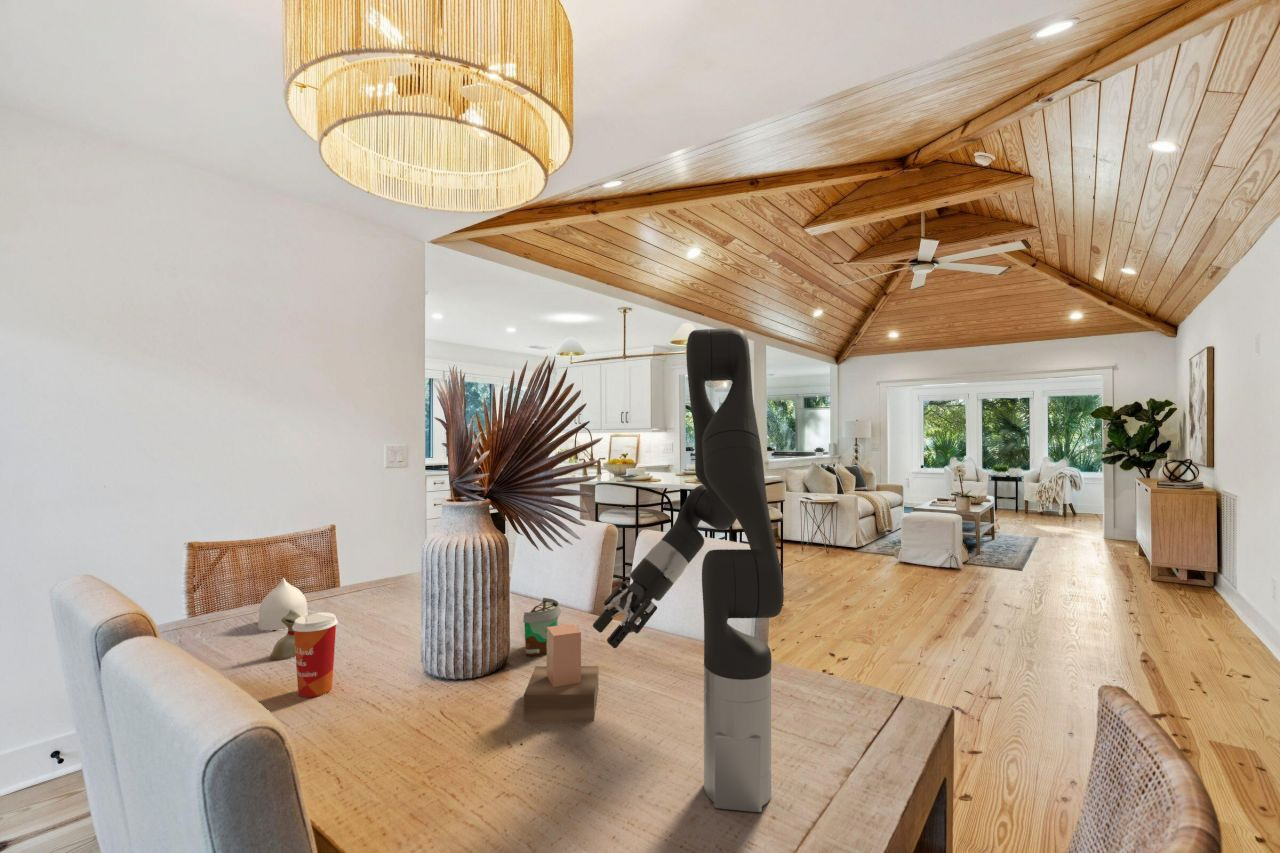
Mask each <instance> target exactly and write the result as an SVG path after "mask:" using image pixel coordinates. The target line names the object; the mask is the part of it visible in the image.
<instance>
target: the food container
mask: <svg viewBox="0 0 1280 853" xmlns="http://www.w3.org/2000/svg"><path fill="white" fill-rule="evenodd" d="M561 615H562V609H561V606H560V604H559V601H557V600H556V599H554V598H550V597H542V602H541V603H540V604H538V605H535V606H534V607H533V608H532V609H531V611H529V612H528V611H527V612H525V611H524V612H523V618H522V619H523V623H524V642H525V657H526V656H527V657H526V658H531V657H532V658H534V656H537V657H542V656H547V655H546V654H547V627H551V626H559V625H558V624H559V617H560V616H561ZM528 656H529V657H528Z"/></svg>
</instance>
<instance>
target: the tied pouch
mask: <svg viewBox="0 0 1280 853" xmlns="http://www.w3.org/2000/svg"><path fill="white" fill-rule="evenodd" d="M299 617H301V616H300V615H299V614H298V613H296V612H295V611H294V610H290V611H289V612H288V614H287V615H286V616H284V617H283V618H282V619H281V621H282V623H284V624H285V625H286V626H287V627H288V629H287V633H286V634H285V636H283V637H282V638H280V639H278V640H277V641H276V643H275V645H274V646H273V649H272V650H271V653H270V655H269V660H270V661H275V659H276V660H277V661H279V660H280V659H282V660H286V659H287V658H288V659H292V658H291V657H293V658H296V657H295V656H296V653H295V638H294V630H292V627H293V625H294V622H295V620H296V619H297V618H299ZM288 659H287V660H288Z"/></svg>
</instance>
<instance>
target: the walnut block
mask: <svg viewBox="0 0 1280 853" xmlns="http://www.w3.org/2000/svg"><path fill="white" fill-rule="evenodd" d="M597 696H599V665H581V683H575V684H569V685H563V686H557V687H553V686H552V684H551V682H550V681H549V679H548V677H547V665H546V666H544V665H543V666H542V665H541V666H540V665H539V666H536V665H535V667H534V669H533V671H532V674H531V677H530V679H529V681H528V684H527V686H526V689H525V691H524V693H523V722H524V723H526V722H529V723H530V722H532V723H533V722H534V723H535V722H537V723H538V722H540V723H542V722H544V723H545V722H548V723H549V722H550V723H551V722H553V723H554V722H595V718H596V710H597V704H598V697H597Z"/></svg>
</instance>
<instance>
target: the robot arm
mask: <svg viewBox="0 0 1280 853" xmlns="http://www.w3.org/2000/svg"><path fill="white" fill-rule="evenodd" d="M750 352H751V351H750V344H749V340H748V337H747V335H746V333H745V332H744V331H743V330H742V329H739V328H710V329H708V328H706V329H695V330H692V331H691V332H690V333H689V334H688V337H687V342H686V354H685V355H686V357H685V358H686V372H687V382H688V383H687V384H688V391H689V392H688V394H689V401H690V402H689V403H690V410H691V416H692V425H693V433H694V469H695V470H694V471H695V476H696V478H697V480H698V481H699V483H701V484H700V485H698V486H696V487H695V488H693V489H692V490H691V491H690V492H689V494H688V495H687V497H686V499H685V500H684V503H683V506H682V507H681V510H680V511H679V514H678V515H677V518H676V520H675V521H674V524H673V525H672V526H671V528H670V529H669V530H668V531H667V532H666V533H665V534H664V536H663V537H662V538H661V540H659V541H658V542H657V543H656V544H655V545H653V547H652V548H651V549H650V550H649V551H648V552H647V554H645V556H644V557H643V558H642V559H641V561H639V563H638V564H637V565H636V566H635V568H634V569H633V570H632V571H631V573H630V575H629V577H630V579H631V580H632V582H631V583H630V584H628V583H627V582H626V581H625V580H623V581H622V582H620V584H619V585H618V586H617V587H616V588H615V589H614V590H613V592H612V593H611V594H610V595H609V596H608V597H607V598H606V599H605V600H604V602H603V605H604V609H603V610H604V611H603V612H602V613H601V614H600V615H599V616H598V618H597V619H595V621H594V622H593V624H592V627H593V629H595V630H596V632H598V633H600V634H601V633H602V632H604V630H605V629H606V628H607V627H608V626H609V625H610V623H611V622H612V621H613V620H614V618H615V617H617V616H618V615H620V614H623V618H622V620H621V622H620V624H618V625H617V627H616V628H615V629H614V630H613V631H612V632H611V634H610V635H609V636H608V637H607V639H606V642H607V644H609V645H610V646H611V647H612V648H613V649H617V648H618V647H619V645H620V644H621V643H622V642H623V641H624V639H625V638H626V637H627V636H628V635H629V634H632V633H634V634H636V635H637V634H639V633H640V632H641V630H642V629H643V628H644V626H645V625H646V624H647V623H648V621H649V620H650V619H651V618H652V616H653V615H654V614H655V612H656V611H657V610H658V606H657V605H655V603H654V602H653V599H654V601H656V602H659V601H661V600H662V599H663V598H664V596H665V595H666V594H667V593H668V592H669V591H670V589H671V588H672V587H673V586H674V585H675V583H676V582H677V581H678V580H679V578H680V577H681V576H682V574H683V573H684V571H685V570H686V568H687V567H688V566H689V564H690V562H692V560H694V558H695V557H696V556H697V554H698V553H699V552H700V551H701V549H702V548H703V547H704V544H705V538H704V536H703V534H702V533H701V532H700V531H699V530H698V526H699V523H700V522H704V523H706V524H707V525H709V526H710V527H711V528H714V529H716V530H720V531H721V530H723V531H724V530H727V529H729V528H731V527H732V526H733V525H734V523H735V522H738V524H740V527H741V528H742V530H743V532H744V534H745V537H746V540H747V543H748V546H749V548H750V549H746V548H745V549H743V548H742V549H740V548H738V549H735V548H733V549H729V548H727V549H721V548H720V549H711V550H708V551H707V552H706V554H705V555H704V558H703V561H702V565H701V589H702V590H701V591H702V592H701V593H702V605H703V606H702V607H703V608H702V609H703V790H704V792H705V794H706V796H707V797H708V799H710V800H711V802H713V808H715V809H721V810H732V811H741V812H743V811H744V812H751V813H761V812H762V811H763V807H764V806H765V805H766V804H767V803H769V801H770V800H771V796H772V652H771V649H770V647H769V645H767V643H766V642H764V641H763V640H762V639H759V638H757V637H756V636H754V635H753V636H752V635H750V634H747V633H744V632H741V631H740V630H737V629H735V628H734V627H732V626H731V625H730V624H729V623H728V620H729V619H770V618H776V617H778V616H779V614H780V613H781V612H782V610H783V608H784V607H783V605H784V597H785V595H784V594H785V593H784V580H783V572H782V568H781V563H780V557H779V553H778V549H777V544H776V539H775V535H774V530H773V525H772V521H771V516H770V515H771V514H770V512H769V511H770V510H769V504H768V497H767V489H766V480H765V470H764V469H765V468H764V459H763V453H762V452H763V451H762V445H761V439H760V434H759V428H758V422H757V417H756V411H755V405H754V394H753V382H752V381H753V380H752V367H751V354H750ZM717 381H718V382H721V381H722V382H723V381H730V382H732V383H731V385H730V389H729V390H728V393H727V395H726V397H725V399H724V400H723V402H722V403H721V405H720V406H719V408H717V410H716V411H715V408H714V407H713V405H712V403H711V401H710V399H709V397H708V393H707V390H706V382H717Z"/></svg>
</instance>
